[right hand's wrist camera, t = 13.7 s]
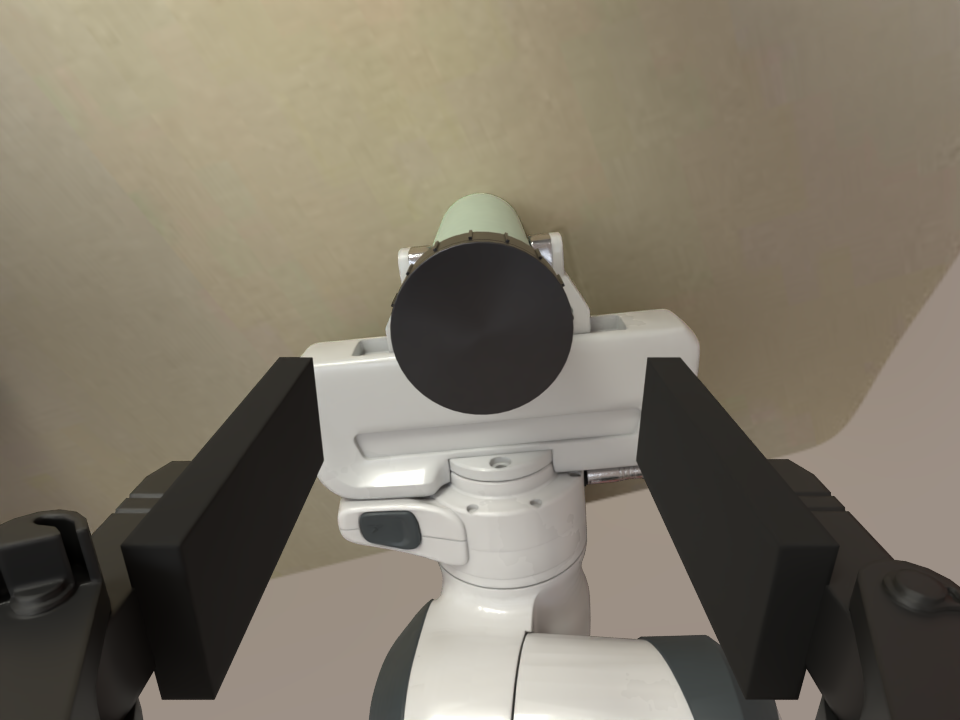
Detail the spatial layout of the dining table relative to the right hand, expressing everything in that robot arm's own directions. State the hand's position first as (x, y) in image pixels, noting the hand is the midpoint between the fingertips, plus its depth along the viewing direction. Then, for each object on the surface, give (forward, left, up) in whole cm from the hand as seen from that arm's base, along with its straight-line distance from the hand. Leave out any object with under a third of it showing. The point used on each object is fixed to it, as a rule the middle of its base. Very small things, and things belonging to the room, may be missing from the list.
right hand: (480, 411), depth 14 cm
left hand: (0, +1, -16) cm, 16 cm away
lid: (0, 0, -5) cm, 5 cm away
